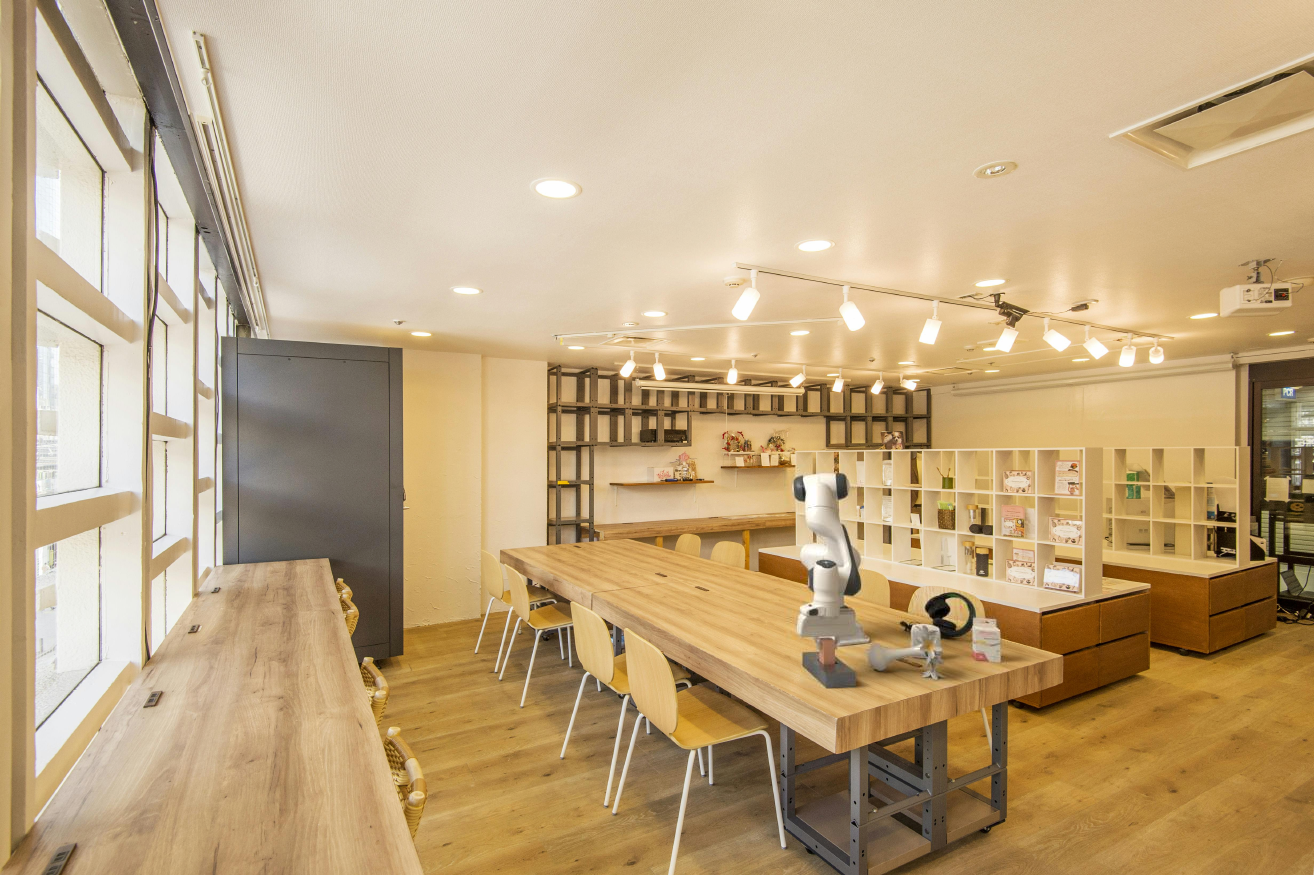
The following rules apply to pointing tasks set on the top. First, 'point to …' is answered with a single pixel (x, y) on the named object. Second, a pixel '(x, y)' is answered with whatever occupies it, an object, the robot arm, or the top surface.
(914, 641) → the photo printer
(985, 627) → the ink cartridge box
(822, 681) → the rail
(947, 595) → the headset
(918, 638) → the flower vase
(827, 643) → the terracotta peg
